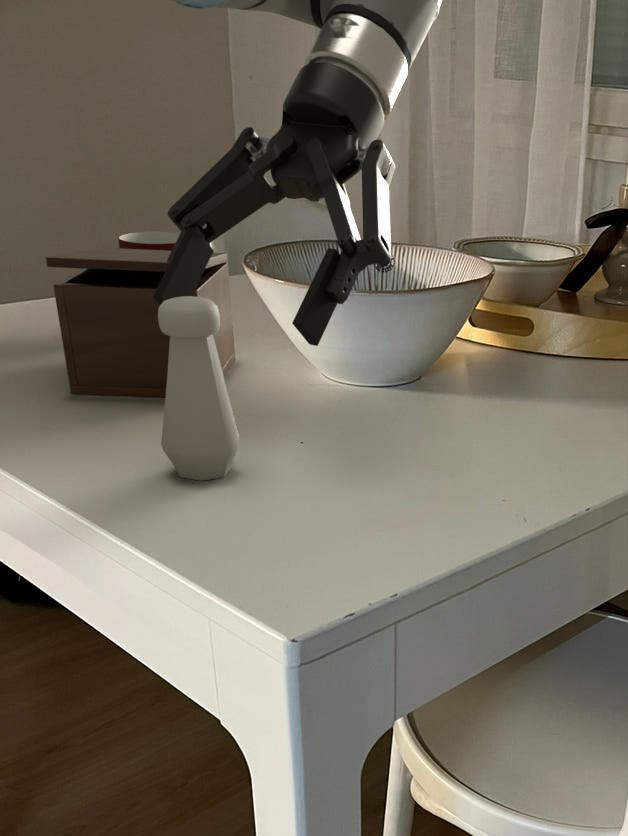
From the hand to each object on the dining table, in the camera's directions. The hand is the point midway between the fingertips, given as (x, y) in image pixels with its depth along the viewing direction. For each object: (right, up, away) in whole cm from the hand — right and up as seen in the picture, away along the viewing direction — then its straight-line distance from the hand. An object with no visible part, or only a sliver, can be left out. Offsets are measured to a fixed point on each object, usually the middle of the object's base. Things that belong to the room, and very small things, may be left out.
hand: (232, 321), depth 78 cm
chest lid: (-13, +11, +18) cm, 24 cm away
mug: (-17, +11, +40) cm, 45 cm away
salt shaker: (-3, -11, +2) cm, 12 cm away
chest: (-13, +2, +23) cm, 27 cm away
